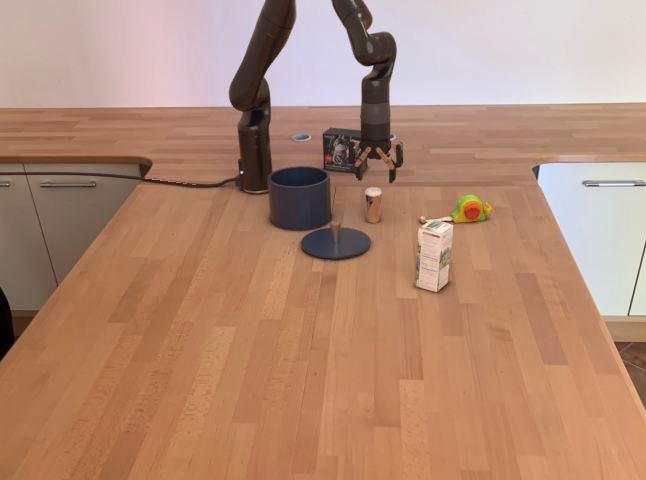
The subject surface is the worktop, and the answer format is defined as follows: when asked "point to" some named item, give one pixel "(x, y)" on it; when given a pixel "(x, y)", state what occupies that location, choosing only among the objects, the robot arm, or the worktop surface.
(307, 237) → the tin lid
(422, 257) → the syrup box
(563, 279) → the worktop surface
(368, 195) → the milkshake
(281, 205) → the tin
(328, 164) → the small box
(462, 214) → the toy measuring tape
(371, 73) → the robot arm
